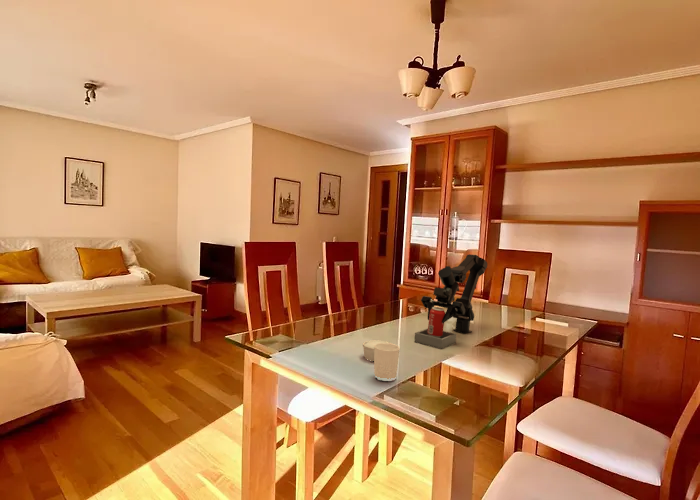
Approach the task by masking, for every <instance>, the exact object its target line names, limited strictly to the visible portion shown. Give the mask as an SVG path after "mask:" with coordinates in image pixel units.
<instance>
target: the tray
mask: <svg viewBox="0 0 700 500" xmlns="http://www.w3.org/2000/svg"><path fill="white" fill-rule="evenodd" d="M427 332H428V328H425V329H423V330H419V331H416V332H414V343H416V344H421V345H424V346H429V347H432V348H435V349H439V350H443V349H446V348H448V347H451V346H452V345H455V344H457V343H456V341H457V334H456V333H453V332H449V331H444V330H443V335H442V336H441V337H440V338H437V337H433V336H429V334H428V333H427Z"/></svg>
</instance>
